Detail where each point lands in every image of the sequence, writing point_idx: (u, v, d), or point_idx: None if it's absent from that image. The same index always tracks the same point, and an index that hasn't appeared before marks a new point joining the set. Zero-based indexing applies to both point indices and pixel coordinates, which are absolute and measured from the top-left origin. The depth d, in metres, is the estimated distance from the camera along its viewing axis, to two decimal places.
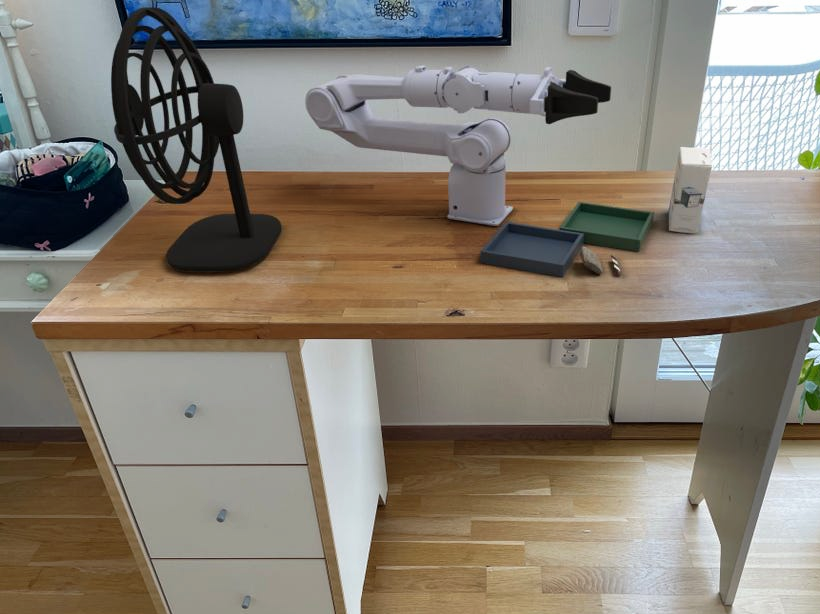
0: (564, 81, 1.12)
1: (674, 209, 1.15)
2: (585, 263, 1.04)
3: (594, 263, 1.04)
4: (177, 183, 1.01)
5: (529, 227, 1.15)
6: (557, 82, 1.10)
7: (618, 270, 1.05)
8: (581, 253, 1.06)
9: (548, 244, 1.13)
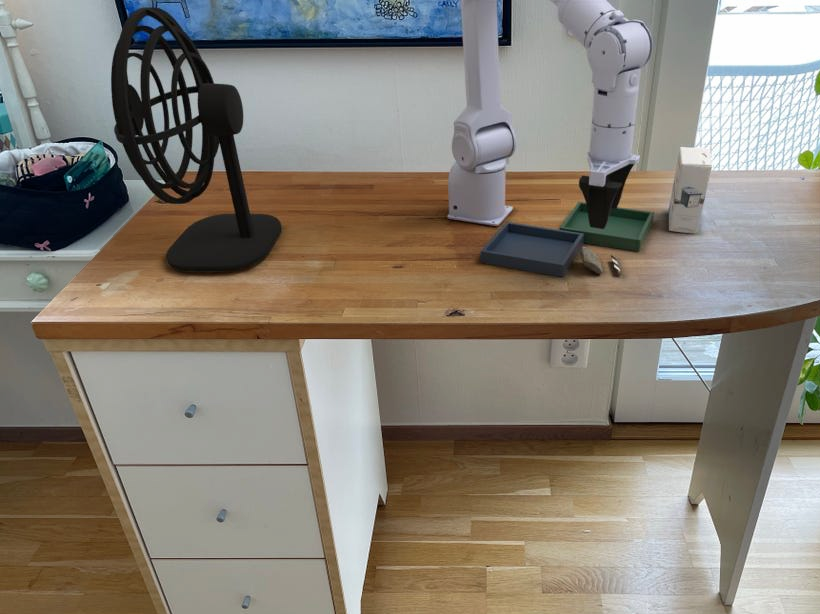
0: None
1: (674, 209, 1.15)
2: (585, 263, 1.04)
3: (594, 263, 1.04)
4: (177, 183, 1.01)
5: (529, 227, 1.15)
6: None
7: (618, 270, 1.05)
8: (581, 253, 1.06)
9: (548, 244, 1.13)
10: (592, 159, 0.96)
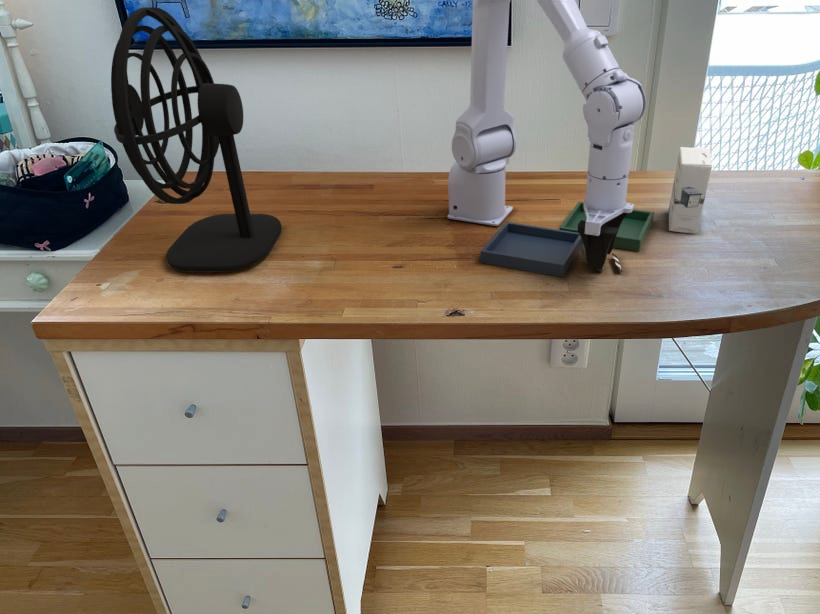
0: None
1: (674, 209, 1.15)
2: None
3: None
4: (177, 183, 1.01)
5: (529, 227, 1.15)
6: None
7: (619, 267, 1.06)
8: (582, 251, 1.06)
9: (548, 244, 1.13)
10: (588, 208, 1.00)
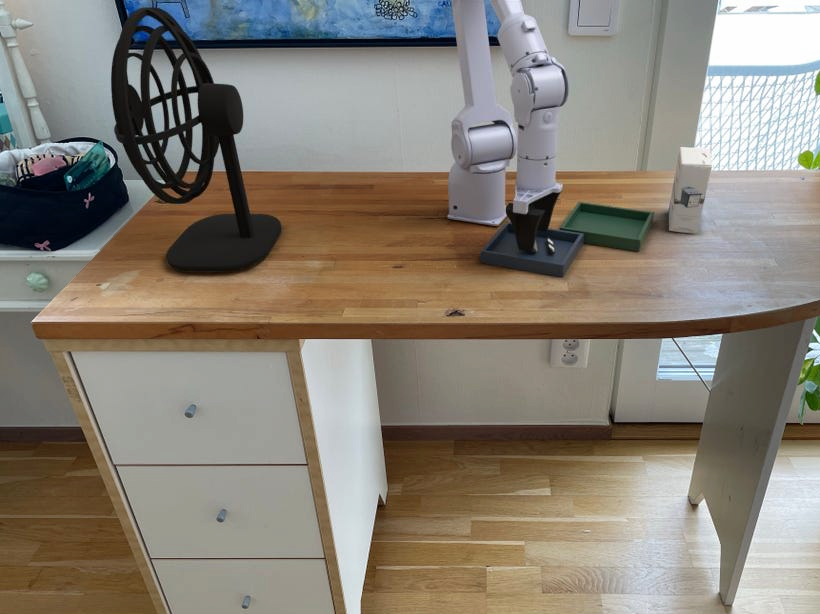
0: None
1: (674, 209, 1.15)
2: None
3: None
4: (177, 183, 1.01)
5: None
6: None
7: (552, 249, 1.10)
8: None
9: (548, 244, 1.13)
10: (518, 188, 1.04)
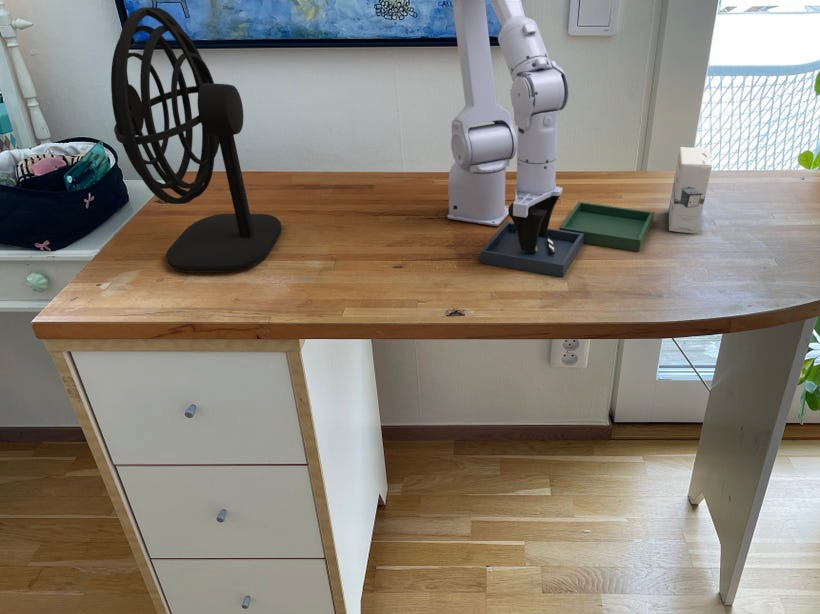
0: None
1: (674, 209, 1.15)
2: None
3: None
4: (177, 183, 1.01)
5: None
6: None
7: (552, 249, 1.10)
8: None
9: (548, 244, 1.13)
10: (518, 191, 1.04)
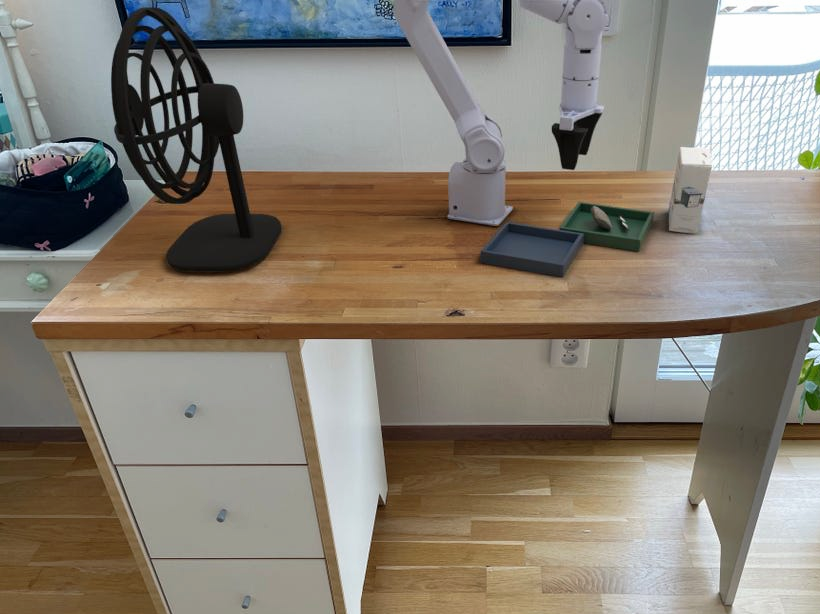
0: None
1: (674, 209, 1.15)
2: (596, 220, 1.15)
3: (604, 220, 1.16)
4: (177, 183, 1.01)
5: (529, 227, 1.15)
6: None
7: (626, 226, 1.17)
8: (592, 211, 1.17)
9: (548, 244, 1.13)
10: (563, 109, 1.12)
